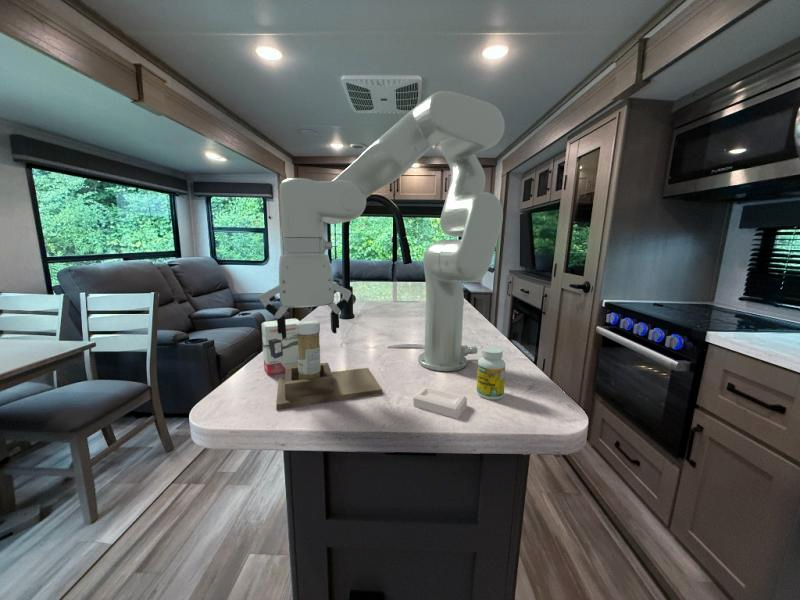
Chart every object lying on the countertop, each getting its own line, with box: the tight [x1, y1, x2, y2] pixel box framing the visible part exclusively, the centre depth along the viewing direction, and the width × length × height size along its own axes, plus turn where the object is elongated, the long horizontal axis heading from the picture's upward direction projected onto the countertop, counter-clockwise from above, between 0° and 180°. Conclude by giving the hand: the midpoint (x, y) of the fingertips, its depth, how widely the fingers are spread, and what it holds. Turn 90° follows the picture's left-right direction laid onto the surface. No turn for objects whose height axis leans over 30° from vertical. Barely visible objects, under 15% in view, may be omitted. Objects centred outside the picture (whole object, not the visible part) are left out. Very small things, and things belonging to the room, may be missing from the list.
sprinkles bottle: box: [296, 320, 321, 380], centre depth 61 cm, size 5×5×14 cm
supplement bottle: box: [476, 346, 506, 401], centre depth 61 cm, size 5×5×10 cm
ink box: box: [261, 318, 301, 376], centre depth 73 cm, size 8×5×12 cm, turn 123°
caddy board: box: [275, 362, 383, 410], centre depth 64 cm, size 20×12×4 cm, turn 110°
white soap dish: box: [412, 386, 468, 419], centre depth 57 cm, size 5×9×2 cm, turn 61°
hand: (309, 334), depth 61 cm, fingers open, 9 cm apart
